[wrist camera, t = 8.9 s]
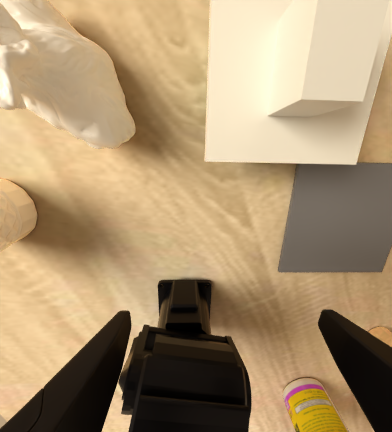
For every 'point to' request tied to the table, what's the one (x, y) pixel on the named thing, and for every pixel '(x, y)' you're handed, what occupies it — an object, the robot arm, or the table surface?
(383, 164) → the mat
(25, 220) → the white cup
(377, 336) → the milkshake
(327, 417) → the supplement bottle
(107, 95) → the bust
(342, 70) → the lid
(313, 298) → the table surface
